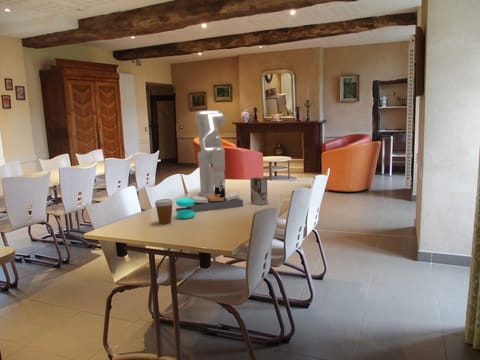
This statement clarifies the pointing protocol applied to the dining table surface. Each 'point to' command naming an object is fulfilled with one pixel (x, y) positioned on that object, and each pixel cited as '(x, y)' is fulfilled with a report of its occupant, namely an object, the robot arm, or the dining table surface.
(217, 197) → the rocker middle orange
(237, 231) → the dining table surface
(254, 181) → the coffee box
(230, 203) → the long grey tray
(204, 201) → the rocker near grey
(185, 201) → the donuts
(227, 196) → the rocker far grey
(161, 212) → the disposable coffee cup
